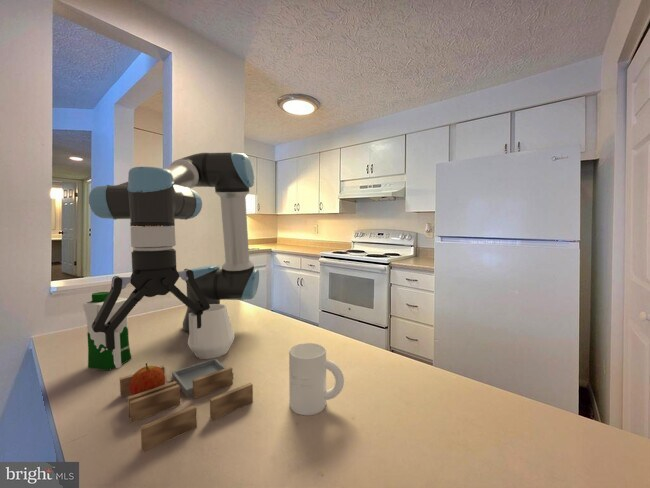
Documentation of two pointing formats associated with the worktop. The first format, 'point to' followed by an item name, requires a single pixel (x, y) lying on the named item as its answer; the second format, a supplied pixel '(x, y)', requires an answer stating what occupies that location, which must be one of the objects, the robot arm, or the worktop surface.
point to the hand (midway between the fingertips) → (158, 353)
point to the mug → (311, 378)
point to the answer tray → (195, 374)
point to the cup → (213, 333)
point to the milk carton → (96, 341)
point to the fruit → (147, 379)
